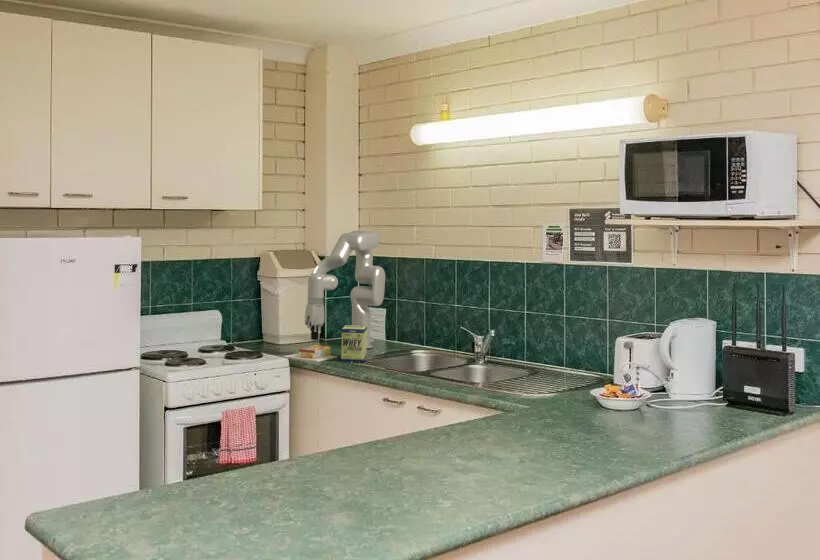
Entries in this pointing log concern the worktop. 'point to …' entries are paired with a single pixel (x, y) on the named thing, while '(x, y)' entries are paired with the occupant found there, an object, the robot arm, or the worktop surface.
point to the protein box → (353, 343)
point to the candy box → (314, 351)
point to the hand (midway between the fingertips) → (314, 339)
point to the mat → (296, 356)
